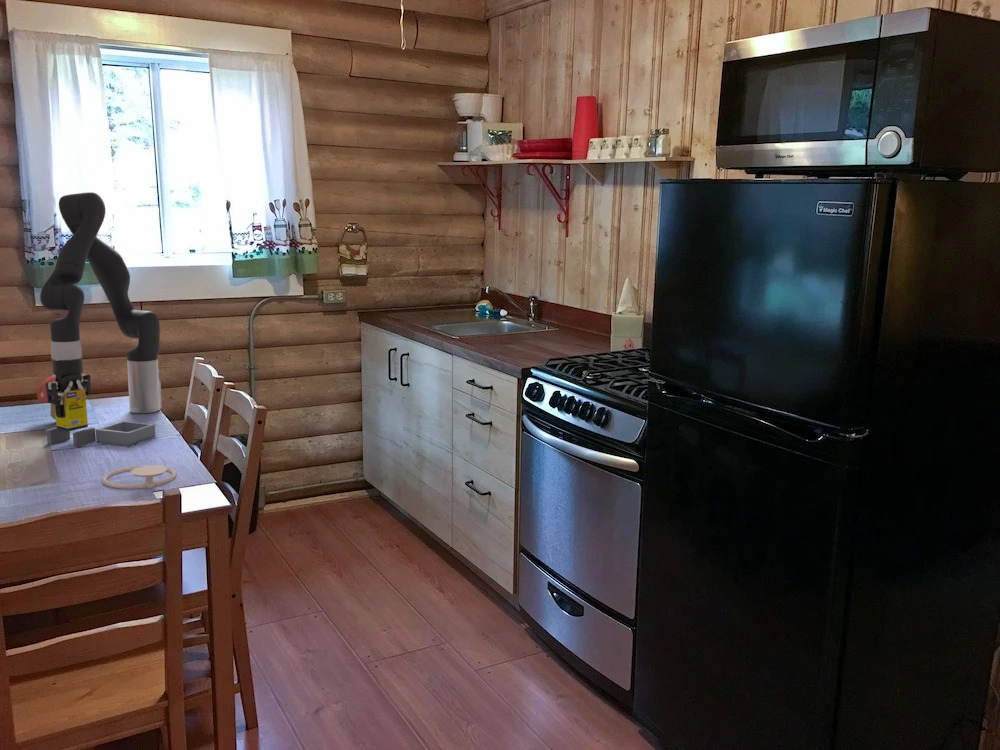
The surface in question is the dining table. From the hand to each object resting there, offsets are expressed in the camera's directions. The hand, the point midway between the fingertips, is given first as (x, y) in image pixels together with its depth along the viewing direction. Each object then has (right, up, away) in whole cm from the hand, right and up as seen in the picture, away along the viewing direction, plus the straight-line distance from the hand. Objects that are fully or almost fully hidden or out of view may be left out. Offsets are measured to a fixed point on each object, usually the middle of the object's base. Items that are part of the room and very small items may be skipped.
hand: (71, 414), depth 231 cm
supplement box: (0, -4, +1) cm, 4 cm away
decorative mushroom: (-14, -4, +23) cm, 28 cm away
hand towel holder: (+32, -15, -29) cm, 46 cm away
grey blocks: (0, -8, +1) cm, 8 cm away
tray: (+13, -8, +5) cm, 16 cm away
